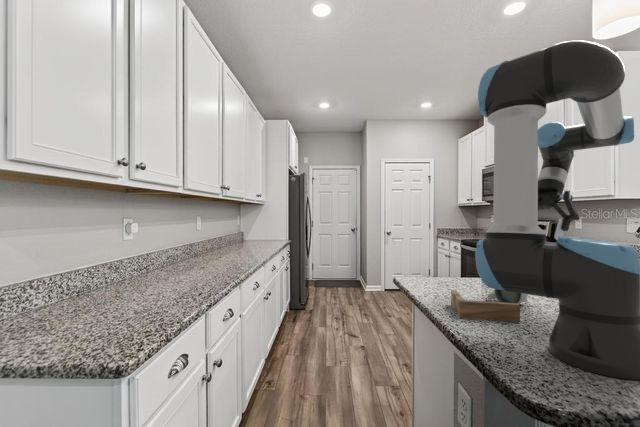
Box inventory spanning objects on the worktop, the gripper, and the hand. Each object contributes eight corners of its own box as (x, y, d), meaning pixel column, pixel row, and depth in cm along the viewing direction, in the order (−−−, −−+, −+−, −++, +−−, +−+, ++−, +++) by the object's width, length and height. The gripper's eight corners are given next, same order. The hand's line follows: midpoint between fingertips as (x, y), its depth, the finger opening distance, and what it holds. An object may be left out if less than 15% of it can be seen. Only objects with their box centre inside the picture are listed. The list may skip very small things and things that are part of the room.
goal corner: (522, 322, 78) (522, 304, 78) (460, 318, 82) (460, 301, 82) (500, 304, 94) (500, 290, 95) (449, 301, 98) (449, 287, 98)
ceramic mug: (529, 304, 94) (529, 279, 94) (521, 309, 89) (522, 283, 89) (492, 297, 102) (492, 274, 102) (483, 301, 96) (483, 277, 97)
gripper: (603, 184, 90) (588, 246, 84) (519, 194, 113) (503, 244, 107) (590, 169, 87) (573, 233, 82) (507, 183, 110) (490, 234, 105)
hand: (533, 239), depth 94 cm, fingers open, 13 cm apart
